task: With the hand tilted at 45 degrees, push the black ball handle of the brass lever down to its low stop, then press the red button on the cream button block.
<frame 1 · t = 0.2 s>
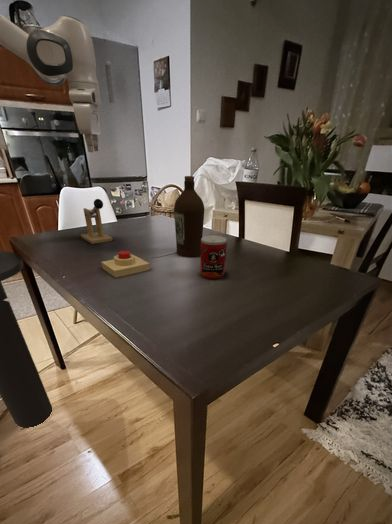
hand: (93, 151, 95), 31 cm above the table, tool pointing down, fingers open, 8 cm apart
olive oil: (188, 253, 107), on the table
button block: (126, 269, 92), on the table
lever: (95, 208, 110), point 12 cm above the table, hinge at 28.0°
button: (124, 255, 89), point 4 cm above the table, slide at 0.1 cm
canned food: (212, 275, 90), on the table
bracket: (96, 239, 121), on the table
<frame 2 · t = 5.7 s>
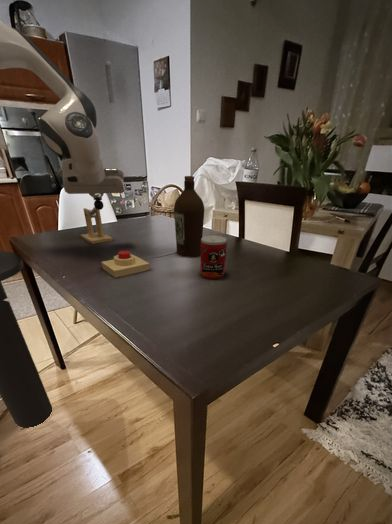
hand: (97, 198, 105), 17 cm above the table, tool tilted 45°, fingers closed, pressing on lever
lever: (95, 209, 110), point 12 cm above the table, hinge at 26.2°, touching gripper
everything else where it was.
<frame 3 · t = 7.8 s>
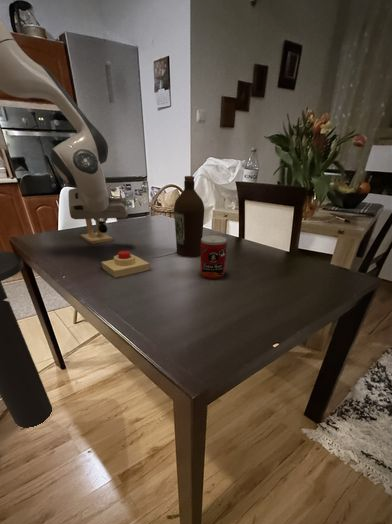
hand: (102, 222, 110), 8 cm above the table, tool tilted 45°, fingers closed, pressing on lever
lever: (97, 221, 113), point 8 cm above the table, hinge at -23.2°, touching gripper
everything else where it was.
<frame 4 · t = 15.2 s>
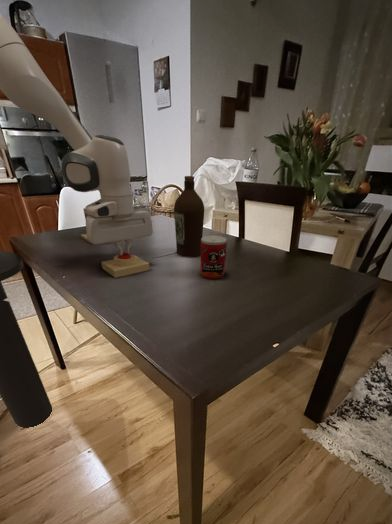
hand: (124, 254, 89), 5 cm above the table, tool pointing down, fingers closed, pressing on button
lever: (97, 222, 113), point 7 cm above the table, hinge at -30.5°
button: (124, 257, 90), point 4 cm above the table, slide at -0.5 cm, touching gripper
everything else where it was.
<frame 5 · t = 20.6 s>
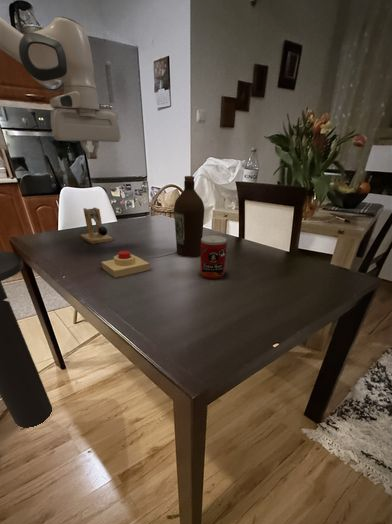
hand: (92, 159, 91), 29 cm above the table, tool pointing down, fingers closed
button: (124, 255, 89), point 4 cm above the table, slide at 0.1 cm
everything else where it was.
at the end: lever at -30° (first picture: +28°); button pushed in 1.1 cm at the most during the clip, back to where it started at the end; button slide at 0.1 cm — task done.
